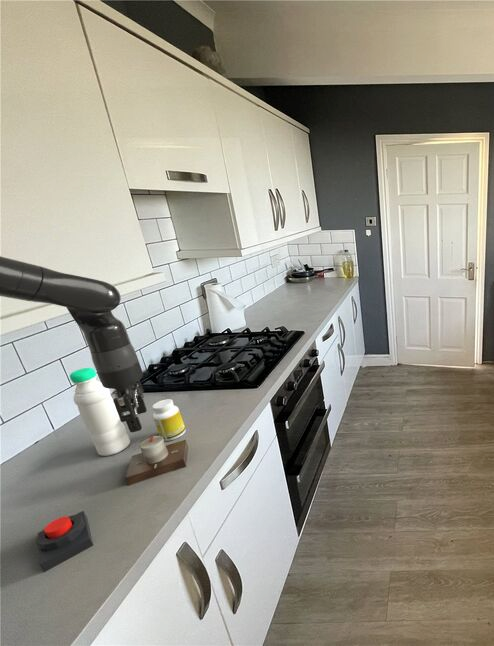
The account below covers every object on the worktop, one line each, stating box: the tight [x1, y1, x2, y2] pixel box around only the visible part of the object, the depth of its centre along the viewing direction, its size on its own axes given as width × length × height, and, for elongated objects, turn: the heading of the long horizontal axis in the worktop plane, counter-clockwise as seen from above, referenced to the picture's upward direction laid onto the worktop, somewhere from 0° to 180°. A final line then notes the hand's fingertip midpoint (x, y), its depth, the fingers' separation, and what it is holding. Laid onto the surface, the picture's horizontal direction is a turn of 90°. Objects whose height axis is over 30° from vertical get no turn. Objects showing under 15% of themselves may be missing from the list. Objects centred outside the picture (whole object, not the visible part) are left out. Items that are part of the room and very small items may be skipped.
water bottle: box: [69, 367, 131, 457], centre depth 94 cm, size 7×7×25 cm
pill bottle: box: [152, 398, 187, 442], centre depth 102 cm, size 6×6×11 cm
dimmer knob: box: [139, 435, 168, 464], centre depth 90 cm, size 5×5×5 cm
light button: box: [43, 516, 73, 539], centre depth 70 cm, size 4×4×2 cm
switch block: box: [36, 510, 94, 573], centre depth 71 cm, size 10×7×4 cm
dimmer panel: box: [124, 439, 189, 486], centre depth 92 cm, size 12×9×3 cm
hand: (139, 421), depth 87 cm, fingers open, 8 cm apart
